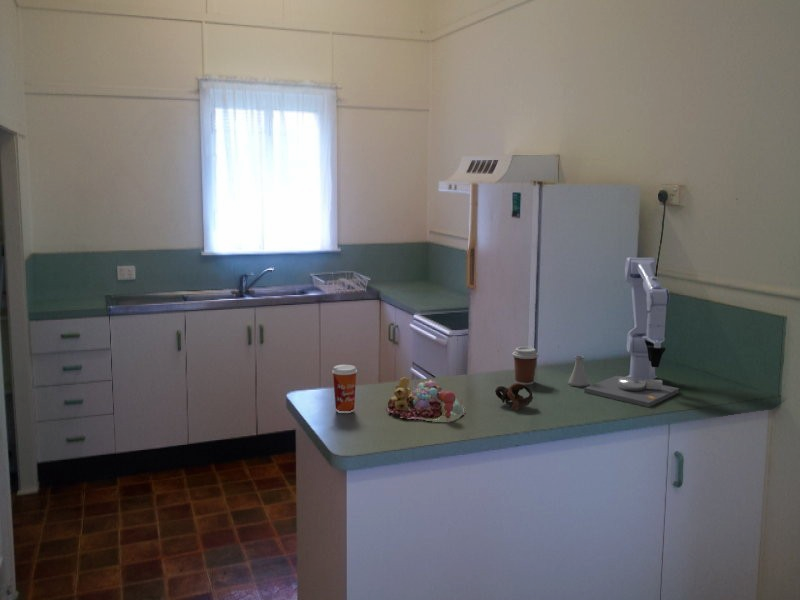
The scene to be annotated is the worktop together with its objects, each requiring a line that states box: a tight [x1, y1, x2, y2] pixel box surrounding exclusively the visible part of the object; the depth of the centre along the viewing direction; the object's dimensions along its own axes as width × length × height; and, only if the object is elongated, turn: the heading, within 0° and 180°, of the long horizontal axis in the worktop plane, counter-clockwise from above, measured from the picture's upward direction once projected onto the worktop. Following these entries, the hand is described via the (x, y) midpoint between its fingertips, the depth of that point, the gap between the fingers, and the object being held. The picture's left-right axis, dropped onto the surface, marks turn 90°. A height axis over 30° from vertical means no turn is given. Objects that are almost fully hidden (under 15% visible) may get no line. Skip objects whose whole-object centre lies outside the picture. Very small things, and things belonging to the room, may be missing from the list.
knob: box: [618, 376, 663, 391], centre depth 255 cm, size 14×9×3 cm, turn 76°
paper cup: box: [331, 364, 358, 411], centre depth 234 cm, size 8×8×14 cm
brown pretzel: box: [494, 382, 534, 411], centre depth 241 cm, size 12×10×8 cm
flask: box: [567, 355, 590, 387], centre depth 264 cm, size 7×7×10 cm
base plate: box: [584, 375, 680, 408], centre depth 256 cm, size 22×23×2 cm
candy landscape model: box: [386, 376, 465, 421], centre depth 236 cm, size 25×24×9 cm
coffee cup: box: [511, 346, 540, 386], centre depth 267 cm, size 9×9×12 cm
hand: (653, 364), depth 256 cm, fingers open, 7 cm apart
